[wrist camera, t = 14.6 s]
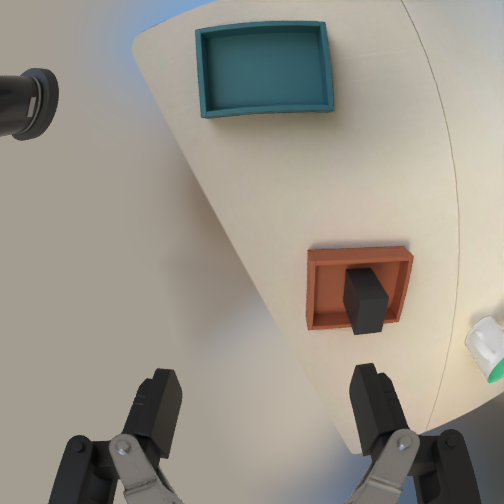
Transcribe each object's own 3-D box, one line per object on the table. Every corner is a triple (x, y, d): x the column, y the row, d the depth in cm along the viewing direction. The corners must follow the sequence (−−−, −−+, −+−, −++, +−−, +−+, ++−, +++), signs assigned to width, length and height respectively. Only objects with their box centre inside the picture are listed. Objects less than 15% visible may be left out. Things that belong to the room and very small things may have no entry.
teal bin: (207, 118, 28) (201, 117, 25) (201, 37, 24) (194, 29, 21) (328, 112, 27) (334, 111, 24) (320, 30, 23) (325, 21, 20)
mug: (448, 341, 40) (471, 380, 30) (473, 307, 36) (502, 344, 27) (476, 350, 41) (497, 383, 31) (499, 320, 38) (524, 352, 28)
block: (342, 301, 36) (354, 335, 30) (345, 268, 34) (360, 300, 28) (366, 299, 36) (381, 332, 29) (371, 267, 34) (389, 297, 27)
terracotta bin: (305, 316, 38) (307, 330, 35) (307, 249, 34) (310, 261, 31) (391, 309, 37) (398, 321, 34) (404, 245, 33) (413, 256, 30)
